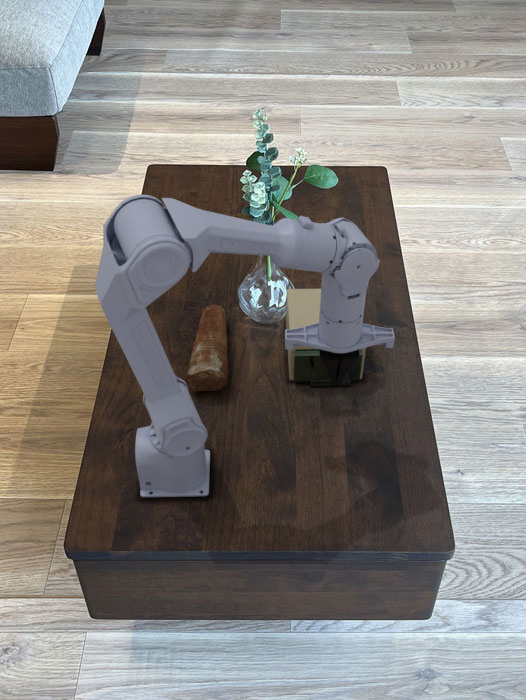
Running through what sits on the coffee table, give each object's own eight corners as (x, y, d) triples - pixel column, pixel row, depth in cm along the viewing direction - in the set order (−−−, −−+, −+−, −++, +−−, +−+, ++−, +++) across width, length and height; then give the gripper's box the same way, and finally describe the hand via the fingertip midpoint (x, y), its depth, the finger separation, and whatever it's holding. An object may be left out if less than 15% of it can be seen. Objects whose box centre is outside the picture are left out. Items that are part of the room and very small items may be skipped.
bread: (186, 398, 124) (184, 373, 120) (200, 316, 138) (198, 292, 134) (226, 399, 124) (225, 374, 120) (236, 318, 137) (236, 293, 133)
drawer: (363, 404, 122) (366, 377, 118) (295, 405, 122) (296, 378, 118) (351, 327, 134) (354, 301, 130) (290, 328, 134) (291, 302, 130)
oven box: (362, 379, 127) (366, 344, 122) (289, 380, 127) (290, 346, 121) (353, 322, 137) (357, 287, 131) (286, 323, 136) (286, 288, 131)
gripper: (393, 288, 106) (382, 360, 115) (284, 289, 106) (282, 361, 115) (401, 323, 101) (389, 396, 110) (286, 325, 100) (284, 397, 110)
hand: (335, 381), depth 112 cm, fingers closed
